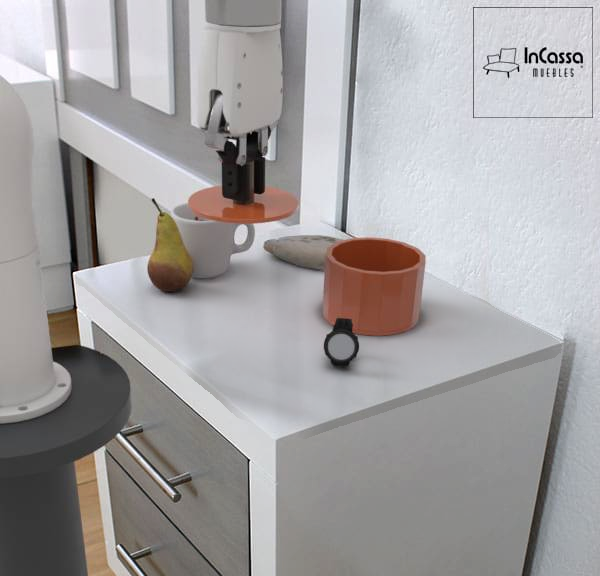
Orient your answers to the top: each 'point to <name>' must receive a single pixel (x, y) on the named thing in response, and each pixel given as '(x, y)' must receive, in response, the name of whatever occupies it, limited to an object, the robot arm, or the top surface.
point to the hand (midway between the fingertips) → (243, 194)
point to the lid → (244, 204)
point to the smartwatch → (341, 343)
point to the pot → (373, 285)
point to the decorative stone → (301, 249)
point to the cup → (209, 241)
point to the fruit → (169, 256)
